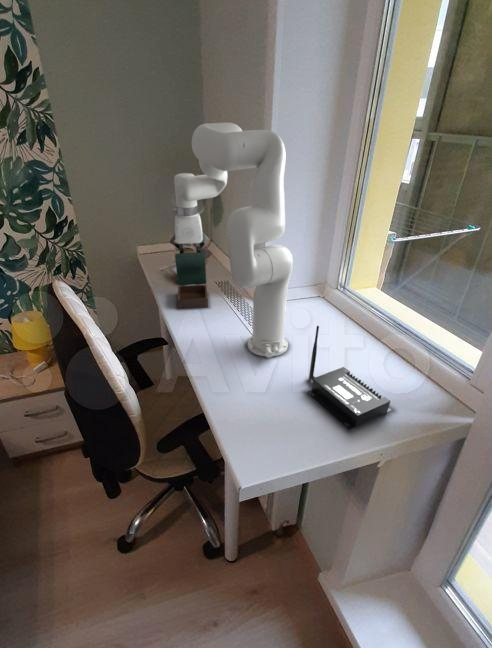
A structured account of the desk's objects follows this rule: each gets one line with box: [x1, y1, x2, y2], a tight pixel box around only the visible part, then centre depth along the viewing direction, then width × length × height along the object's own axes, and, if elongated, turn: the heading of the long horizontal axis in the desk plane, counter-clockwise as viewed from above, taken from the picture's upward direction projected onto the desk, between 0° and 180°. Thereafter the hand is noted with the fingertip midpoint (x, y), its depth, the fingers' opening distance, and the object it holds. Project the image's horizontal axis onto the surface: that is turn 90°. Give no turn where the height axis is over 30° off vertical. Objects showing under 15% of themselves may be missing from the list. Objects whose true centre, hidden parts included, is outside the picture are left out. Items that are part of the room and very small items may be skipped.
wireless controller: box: [306, 325, 392, 431], centre depth 94 cm, size 20×14×17 cm
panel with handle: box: [174, 250, 207, 286], centre depth 147 cm, size 13×11×6 cm
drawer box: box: [177, 284, 209, 310], centre depth 146 cm, size 13×11×4 cm
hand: (190, 259), depth 148 cm, fingers closed on panel with handle, 5 cm apart
